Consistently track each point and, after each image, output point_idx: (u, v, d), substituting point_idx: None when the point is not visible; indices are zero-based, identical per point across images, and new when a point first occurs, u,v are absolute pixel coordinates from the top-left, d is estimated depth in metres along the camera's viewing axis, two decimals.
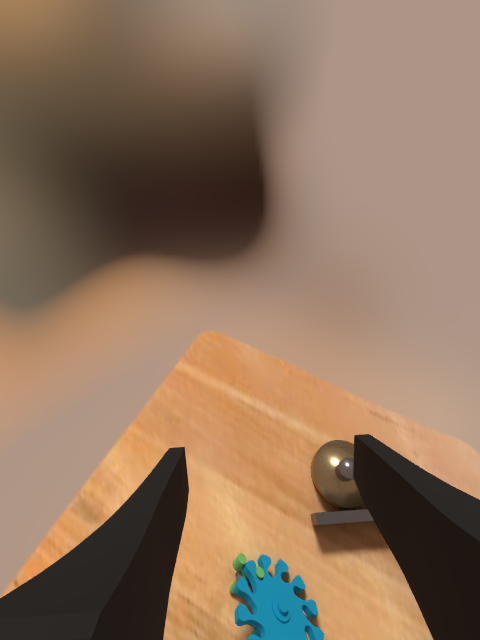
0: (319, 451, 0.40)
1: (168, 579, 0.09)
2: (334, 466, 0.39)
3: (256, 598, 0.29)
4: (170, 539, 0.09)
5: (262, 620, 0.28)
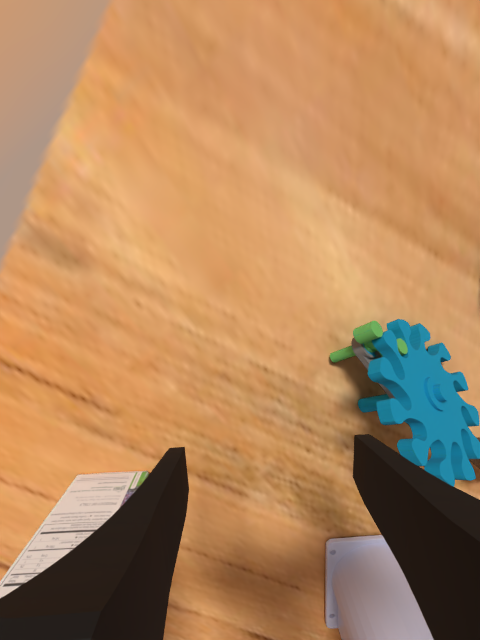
0: None
1: (168, 579, 0.09)
2: None
3: (406, 385, 0.17)
4: (170, 539, 0.09)
5: (420, 415, 0.16)
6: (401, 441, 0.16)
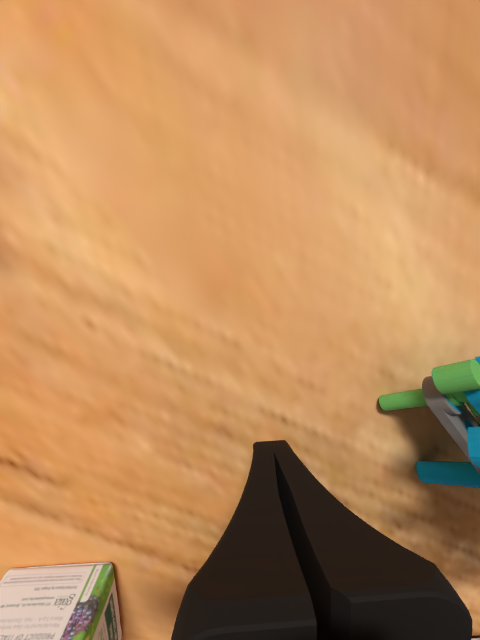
0: None
1: None
2: None
3: None
4: None
5: None
6: None
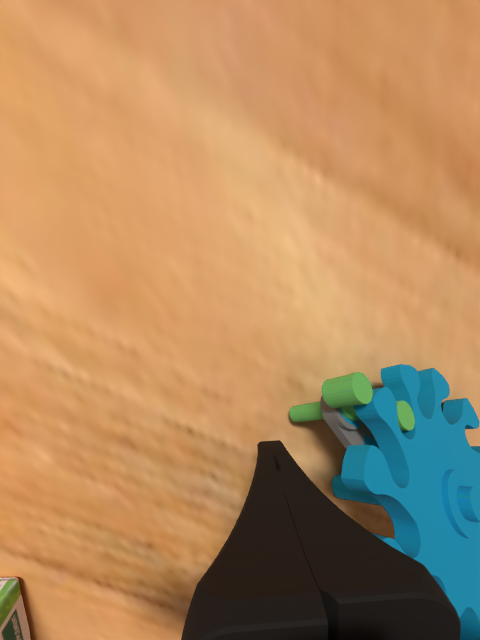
0: None
1: None
2: None
3: (412, 499, 0.09)
4: None
5: (435, 560, 0.09)
6: None
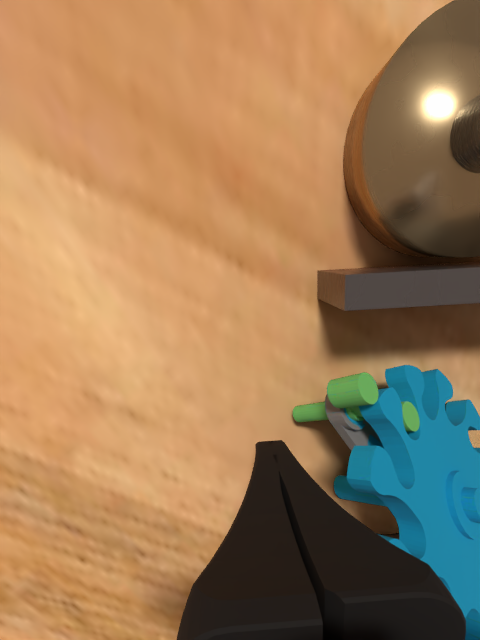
0: (412, 41, 0.09)
1: None
2: (455, 111, 0.09)
3: (418, 500, 0.09)
4: None
5: (440, 561, 0.09)
6: None
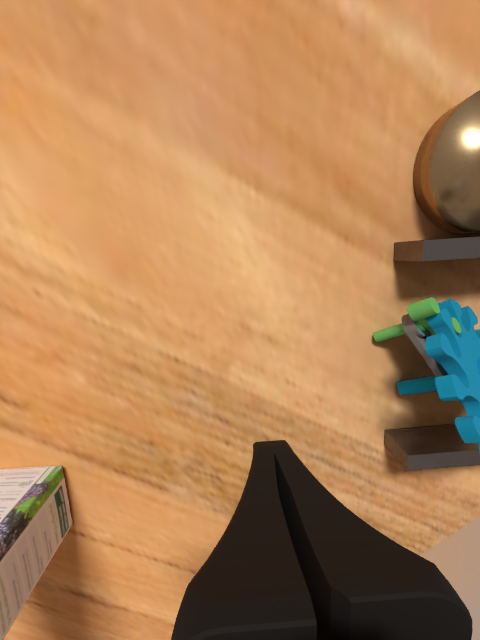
0: (462, 109, 0.16)
1: None
2: None
3: (463, 364, 0.16)
4: None
5: (476, 394, 0.16)
6: (459, 418, 0.15)
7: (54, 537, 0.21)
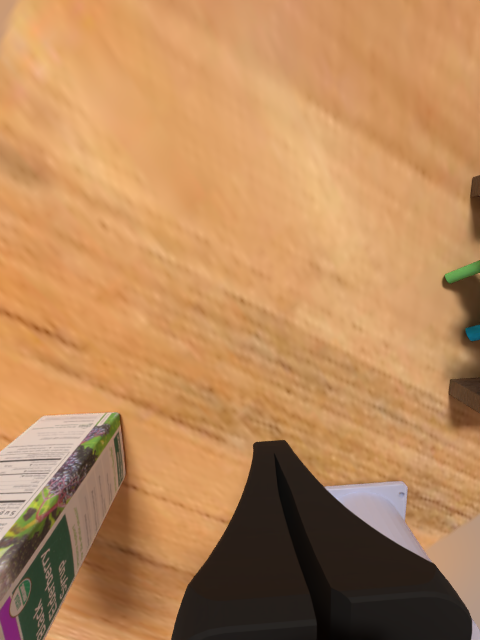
0: None
1: None
2: None
3: None
4: None
5: None
6: None
7: (113, 483, 0.20)
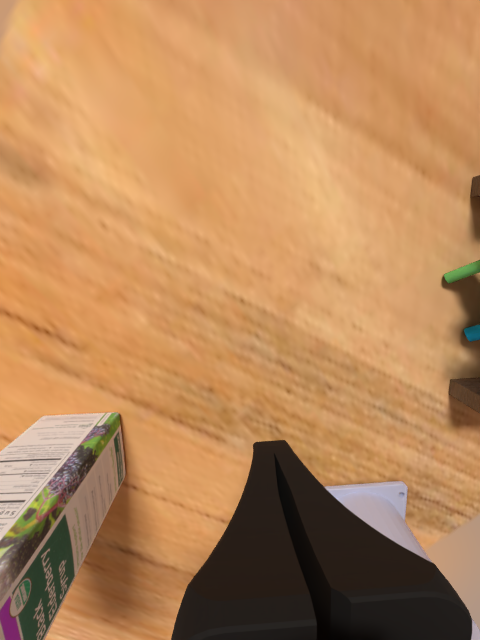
0: None
1: None
2: None
3: None
4: None
5: None
6: None
7: (113, 483, 0.20)
